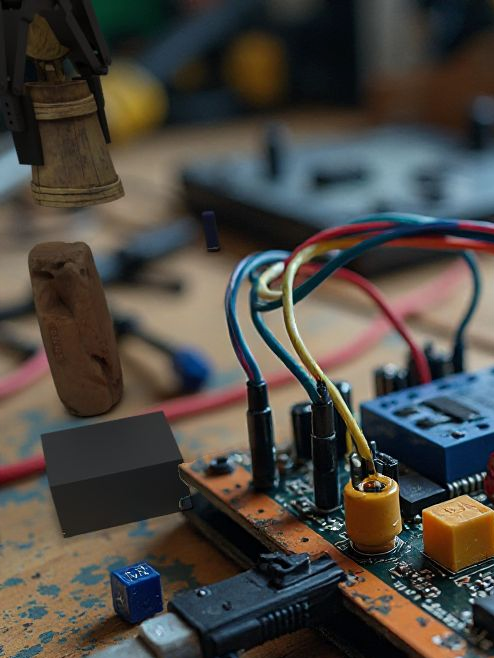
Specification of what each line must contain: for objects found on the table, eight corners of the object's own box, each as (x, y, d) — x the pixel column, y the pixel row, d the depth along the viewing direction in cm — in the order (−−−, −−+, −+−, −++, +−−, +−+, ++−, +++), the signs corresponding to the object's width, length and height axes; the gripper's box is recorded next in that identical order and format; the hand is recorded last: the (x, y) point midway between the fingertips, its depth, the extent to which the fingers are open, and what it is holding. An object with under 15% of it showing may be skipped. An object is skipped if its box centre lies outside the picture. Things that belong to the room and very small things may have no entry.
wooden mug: (117, 176, 118) (84, -4, 110) (129, 203, 108) (93, 6, 99) (30, 184, 116) (-11, 0, 107) (34, 212, 105) (-12, 9, 96)
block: (70, 388, 141) (31, 238, 131) (129, 382, 142) (95, 233, 132) (57, 423, 132) (14, 265, 122) (120, 417, 133) (83, 259, 123)
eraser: (208, 248, 194) (202, 210, 190) (221, 248, 194) (214, 210, 191) (206, 252, 192) (200, 214, 189) (219, 251, 192) (212, 213, 189)
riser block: (63, 538, 108) (49, 486, 105) (53, 482, 119) (40, 434, 116) (193, 508, 113) (183, 458, 110) (172, 457, 123) (162, 410, 120)
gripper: (-48, -97, 88) (22, 181, 99) (118, -104, 106) (161, 133, 117) (-119, -96, 90) (-43, 176, 101) (56, -102, 108) (104, 130, 119)
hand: (66, 153), depth 109 cm, fingers open, 9 cm apart
